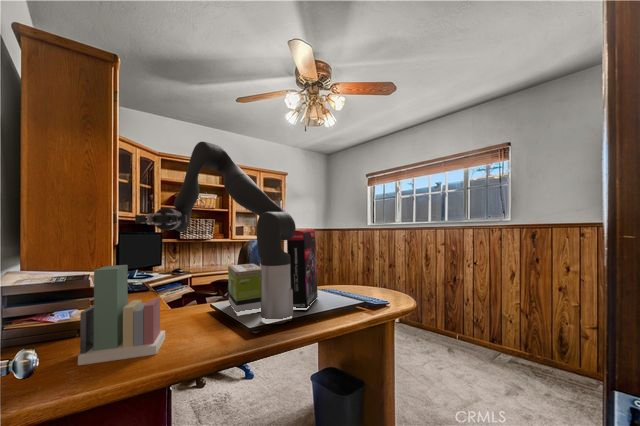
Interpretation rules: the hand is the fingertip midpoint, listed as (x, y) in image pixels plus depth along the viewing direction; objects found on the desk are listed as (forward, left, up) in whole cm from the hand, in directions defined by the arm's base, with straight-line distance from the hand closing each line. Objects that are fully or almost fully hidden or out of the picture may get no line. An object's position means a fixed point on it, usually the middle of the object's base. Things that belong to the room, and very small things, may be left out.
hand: (157, 218), depth 86 cm
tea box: (-26, -8, -32) cm, 42 cm away
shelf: (+3, +16, -32) cm, 36 cm away
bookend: (+10, +16, -30) cm, 35 cm away
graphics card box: (-46, -5, -32) cm, 56 cm away
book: (+7, +16, -30) cm, 34 cm away
